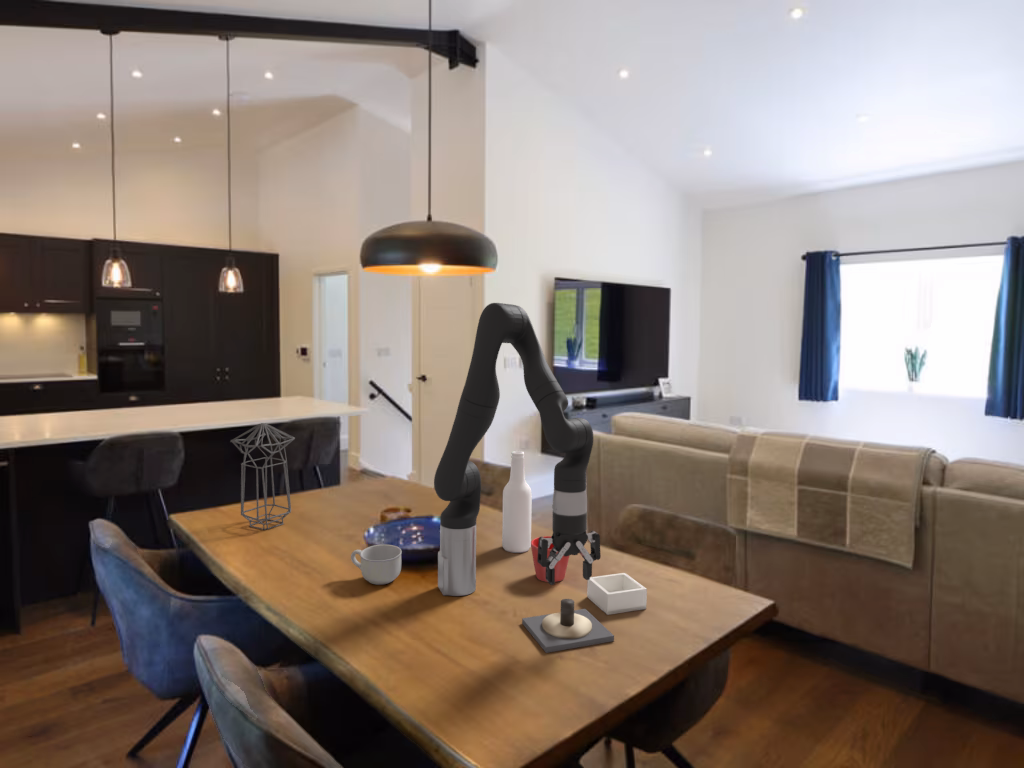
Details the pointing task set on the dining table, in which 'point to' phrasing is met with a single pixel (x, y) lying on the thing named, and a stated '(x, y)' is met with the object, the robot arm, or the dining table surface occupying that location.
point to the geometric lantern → (234, 441)
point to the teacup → (379, 563)
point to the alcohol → (517, 508)
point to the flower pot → (541, 571)
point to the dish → (616, 593)
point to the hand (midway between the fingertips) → (569, 581)
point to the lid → (567, 622)
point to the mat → (556, 644)
